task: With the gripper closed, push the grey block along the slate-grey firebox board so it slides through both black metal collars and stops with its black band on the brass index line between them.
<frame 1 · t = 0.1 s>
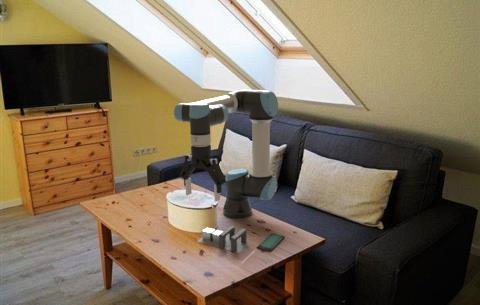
hand: (202, 197, 154), 28 cm above the table, fingers open, 13 cm apart
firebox: (223, 243, 175), on the table
grey block: (214, 239, 178), point 1 cm above the table, touching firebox
smartphone: (270, 244, 176), on the table
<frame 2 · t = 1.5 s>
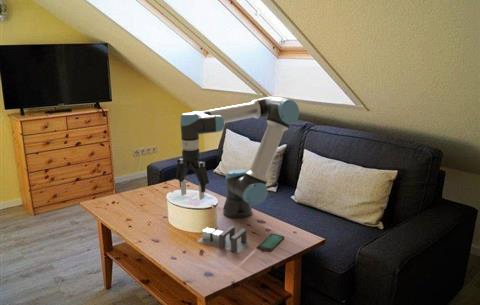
hand: (192, 196, 178), 20 cm above the table, fingers open, 9 cm apart
nothing on the table moved.
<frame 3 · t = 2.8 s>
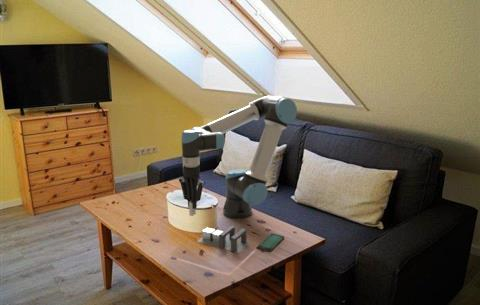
hand: (192, 214, 180), 11 cm above the table, fingers closed
nothing on the table moved.
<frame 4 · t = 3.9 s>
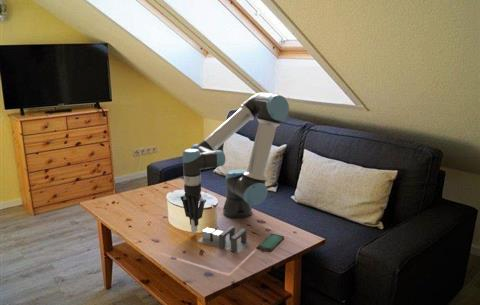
hand: (194, 231, 182), 2 cm above the table, fingers closed
nothing on the table moved.
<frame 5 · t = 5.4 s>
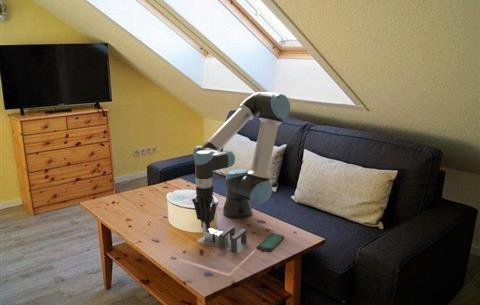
hand: (205, 234, 179), 2 cm above the table, fingers closed
grey block: (216, 240, 177), point 1 cm above the table, touching gripper
everything else where it was.
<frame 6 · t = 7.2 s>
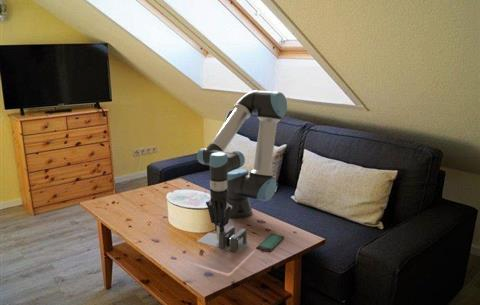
hand: (219, 238, 175), 2 cm above the table, fingers closed
grey block: (230, 244, 173), point 1 cm above the table, touching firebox, gripper
everything else where it was.
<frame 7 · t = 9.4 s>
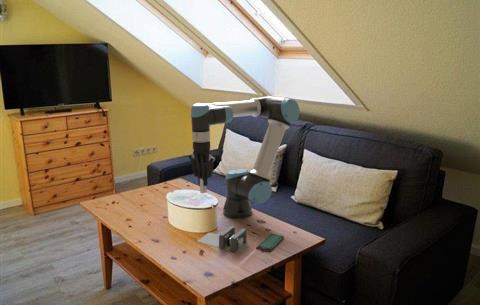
hand: (203, 192, 175), 23 cm above the table, fingers closed
grey block: (230, 244, 173), point 1 cm above the table, touching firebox
everything else where it was.
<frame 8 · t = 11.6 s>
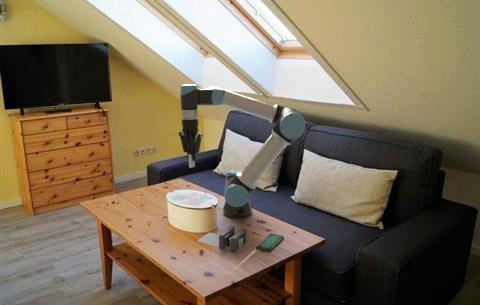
hand: (192, 166, 189), 29 cm above the table, fingers closed
nothing on the table moved.
at the end: grey block 1.0 cm from the target spot on the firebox, point 0.8 cm above the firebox's base; grey block touching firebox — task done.
